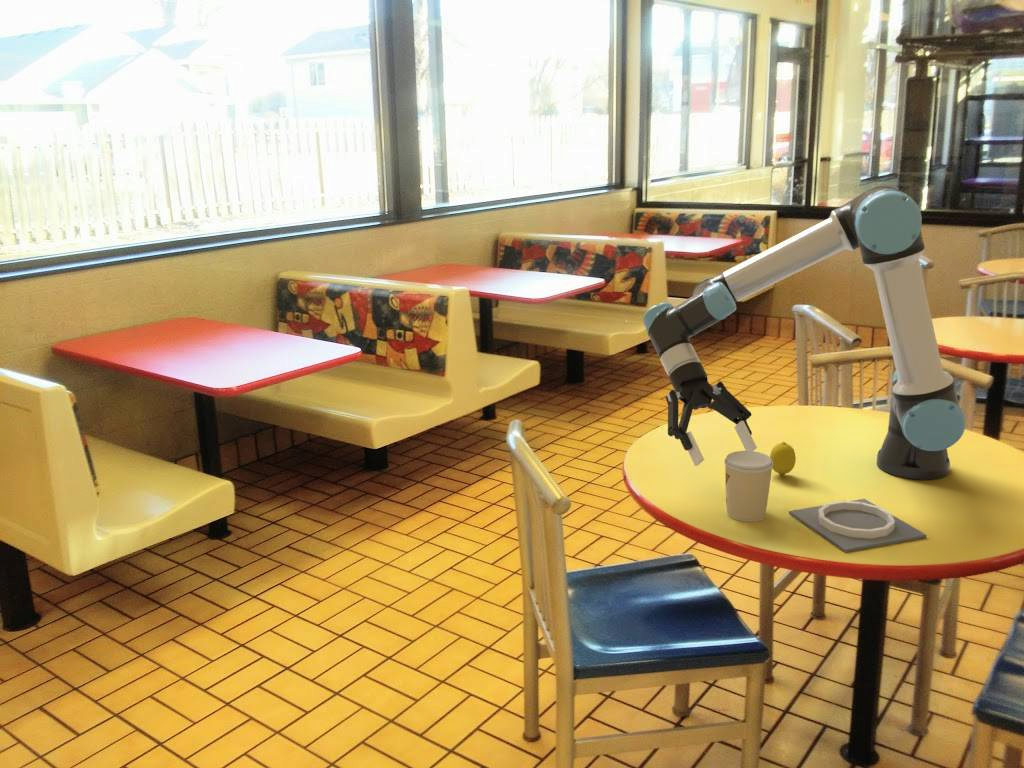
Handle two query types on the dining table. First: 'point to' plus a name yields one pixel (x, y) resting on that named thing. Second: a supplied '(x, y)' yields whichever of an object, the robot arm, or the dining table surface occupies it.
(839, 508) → the cup tray
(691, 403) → the robot arm
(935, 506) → the dining table surface
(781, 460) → the lemon
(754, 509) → the coffee cup
